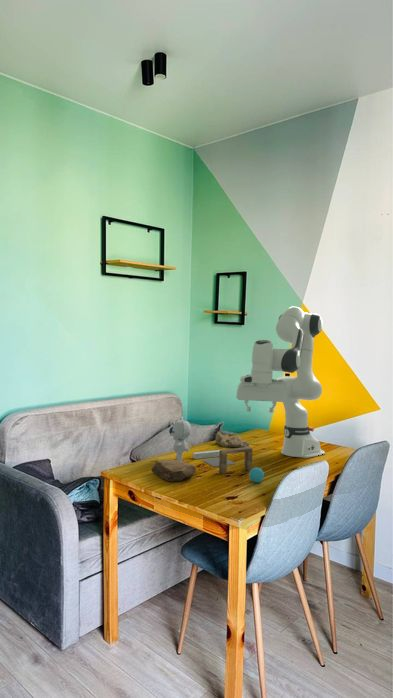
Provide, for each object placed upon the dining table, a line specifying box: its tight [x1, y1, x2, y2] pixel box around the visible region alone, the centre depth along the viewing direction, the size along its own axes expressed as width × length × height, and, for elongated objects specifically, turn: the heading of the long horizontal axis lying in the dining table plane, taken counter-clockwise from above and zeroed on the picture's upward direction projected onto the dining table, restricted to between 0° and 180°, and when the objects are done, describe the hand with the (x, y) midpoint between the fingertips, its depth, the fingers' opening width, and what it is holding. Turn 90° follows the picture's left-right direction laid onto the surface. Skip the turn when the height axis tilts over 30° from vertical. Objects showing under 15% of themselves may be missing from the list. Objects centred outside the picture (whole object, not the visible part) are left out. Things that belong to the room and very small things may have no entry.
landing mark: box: [201, 457, 237, 468], centre depth 221 cm, size 12×12×1 cm
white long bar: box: [192, 449, 221, 460], centre depth 230 cm, size 16×2×2 cm, turn 116°
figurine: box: [215, 431, 251, 448], centre depth 253 cm, size 12×8×20 cm
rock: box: [151, 458, 197, 482], centre depth 198 cm, size 20×7×15 cm
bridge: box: [218, 447, 253, 475], centre depth 207 cm, size 3×15×10 cm, turn 116°
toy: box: [169, 416, 192, 461], centre depth 222 cm, size 17×10×20 cm, turn 5°
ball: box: [248, 467, 265, 483], centre depth 192 cm, size 6×6×6 cm
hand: (260, 411), depth 197 cm, fingers open, 8 cm apart
